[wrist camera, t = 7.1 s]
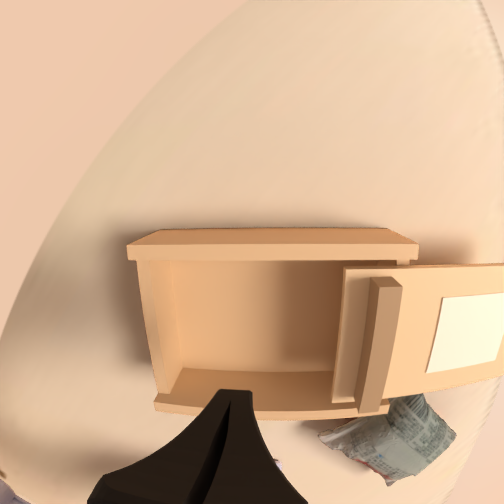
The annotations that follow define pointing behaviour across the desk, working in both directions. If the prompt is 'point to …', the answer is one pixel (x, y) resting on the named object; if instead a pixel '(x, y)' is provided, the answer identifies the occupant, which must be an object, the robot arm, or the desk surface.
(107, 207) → the desk surface
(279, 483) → the robot arm
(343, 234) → the light brown rectangular box
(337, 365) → the lid
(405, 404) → the packaged food
